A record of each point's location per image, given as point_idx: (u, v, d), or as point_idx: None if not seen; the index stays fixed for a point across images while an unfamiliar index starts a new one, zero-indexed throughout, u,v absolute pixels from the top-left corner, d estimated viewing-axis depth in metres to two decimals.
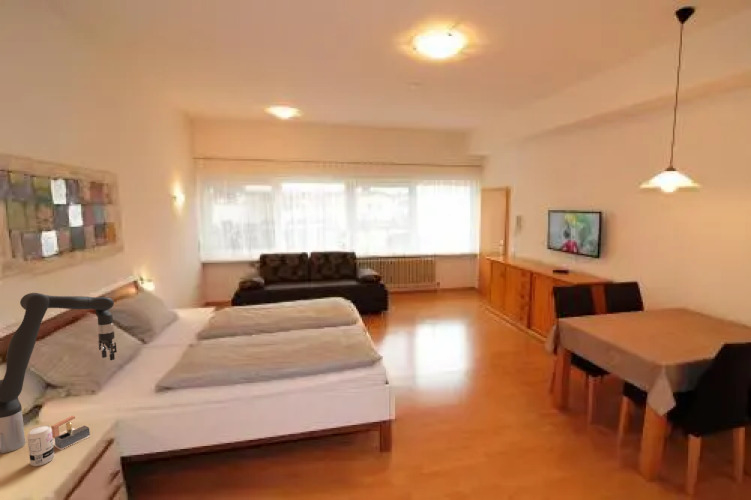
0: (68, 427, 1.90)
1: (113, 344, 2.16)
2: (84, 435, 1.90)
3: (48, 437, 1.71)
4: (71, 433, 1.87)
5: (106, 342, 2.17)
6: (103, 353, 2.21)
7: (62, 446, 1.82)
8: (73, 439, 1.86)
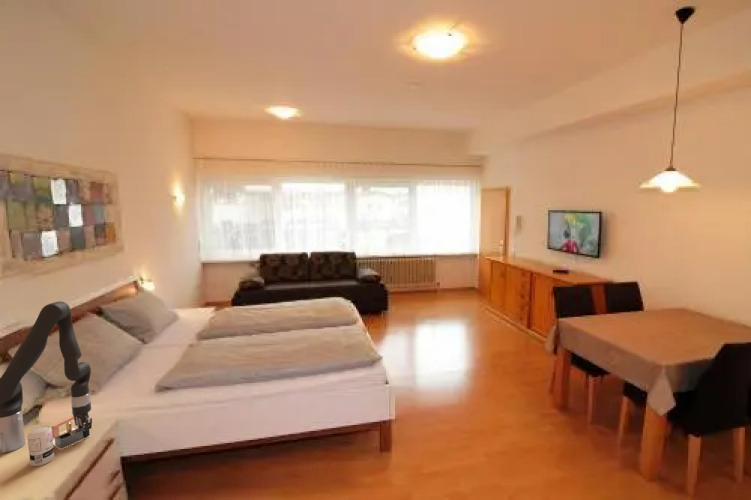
0: (68, 427, 1.90)
1: (89, 421, 1.88)
2: None
3: (48, 437, 1.71)
4: (71, 433, 1.87)
5: (81, 416, 1.89)
6: None
7: (62, 446, 1.82)
8: (73, 439, 1.86)
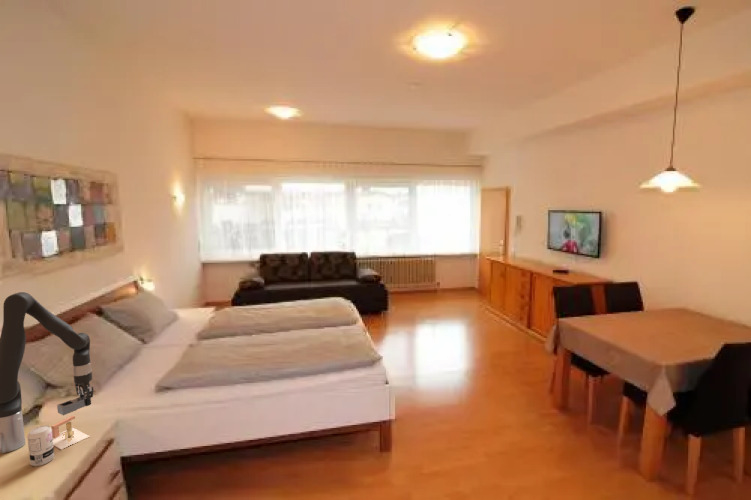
0: (68, 427, 1.90)
1: (90, 389, 1.93)
2: None
3: (48, 437, 1.71)
4: (73, 401, 1.92)
5: (82, 385, 1.94)
6: None
7: (64, 413, 1.86)
8: (75, 407, 1.90)
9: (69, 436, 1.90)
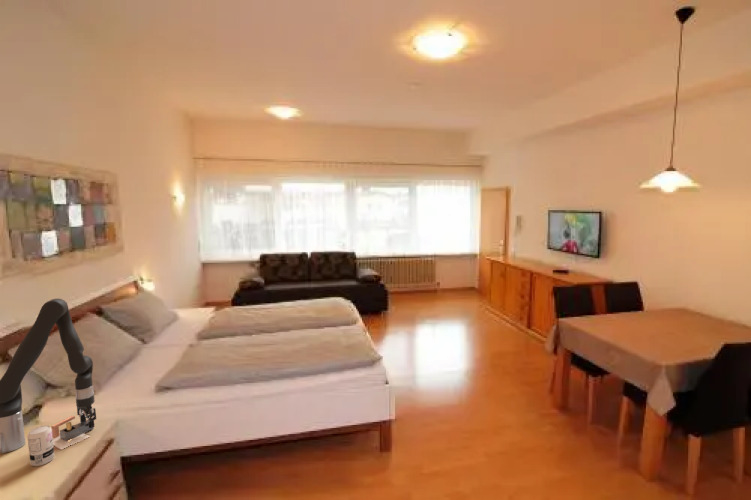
0: (68, 427, 1.90)
1: (92, 411, 1.94)
2: (88, 428, 1.96)
3: (48, 437, 1.71)
4: (75, 426, 1.93)
5: (85, 408, 1.95)
6: (82, 419, 1.99)
7: (67, 439, 1.88)
8: (77, 432, 1.92)
9: None
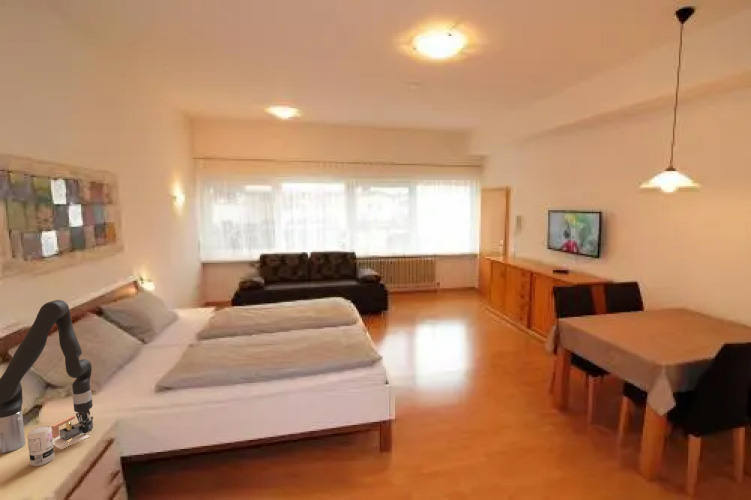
0: (68, 427, 1.90)
1: (90, 420, 1.90)
2: None
3: (48, 437, 1.71)
4: (75, 426, 1.94)
5: (82, 413, 1.91)
6: None
7: (67, 438, 1.88)
8: (77, 432, 1.92)
9: None
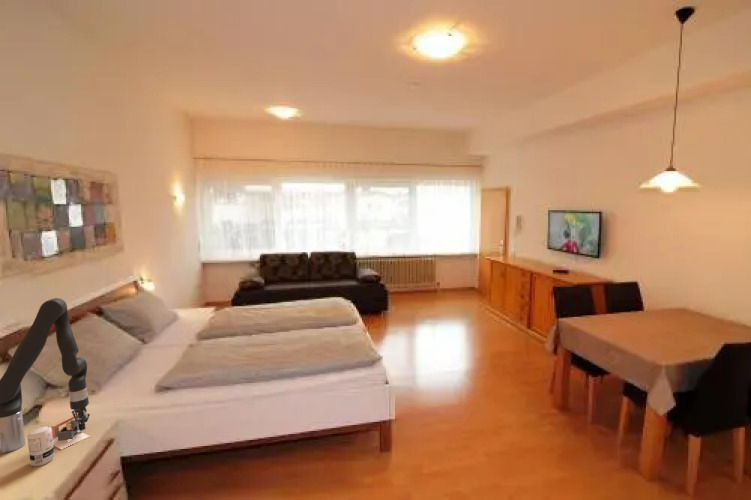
0: (68, 427, 1.90)
1: (86, 417, 1.93)
2: None
3: (48, 437, 1.71)
4: None
5: (79, 410, 1.94)
6: None
7: (72, 436, 1.90)
8: (76, 429, 1.94)
9: None
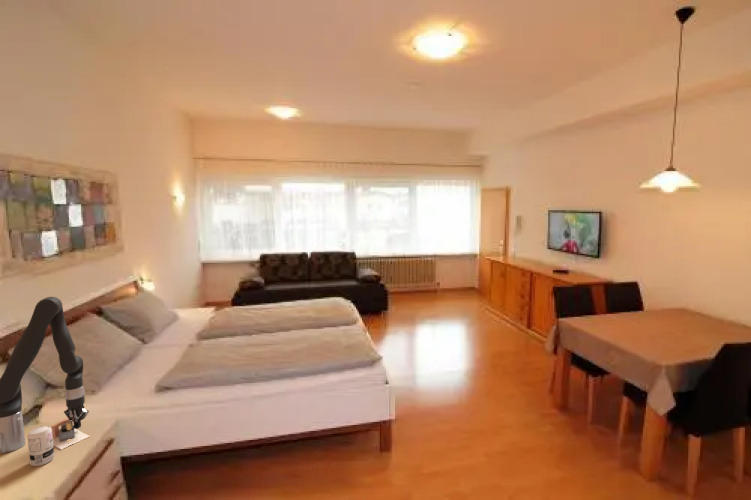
0: (68, 427, 1.90)
1: (86, 413, 1.95)
2: None
3: (48, 437, 1.71)
4: None
5: (76, 408, 1.94)
6: None
7: (74, 435, 1.91)
8: None
9: None
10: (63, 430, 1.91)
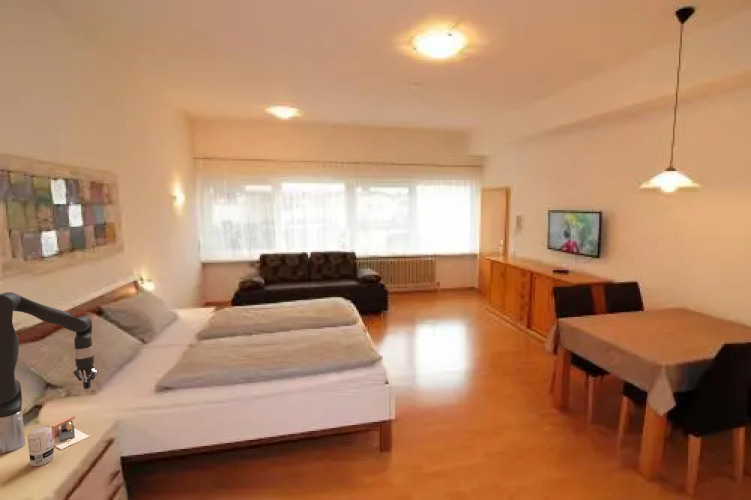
0: (68, 427, 1.90)
1: (95, 373, 1.93)
2: None
3: (48, 437, 1.71)
4: None
5: (86, 368, 1.92)
6: None
7: (74, 435, 1.91)
8: None
9: None
10: (63, 430, 1.91)
